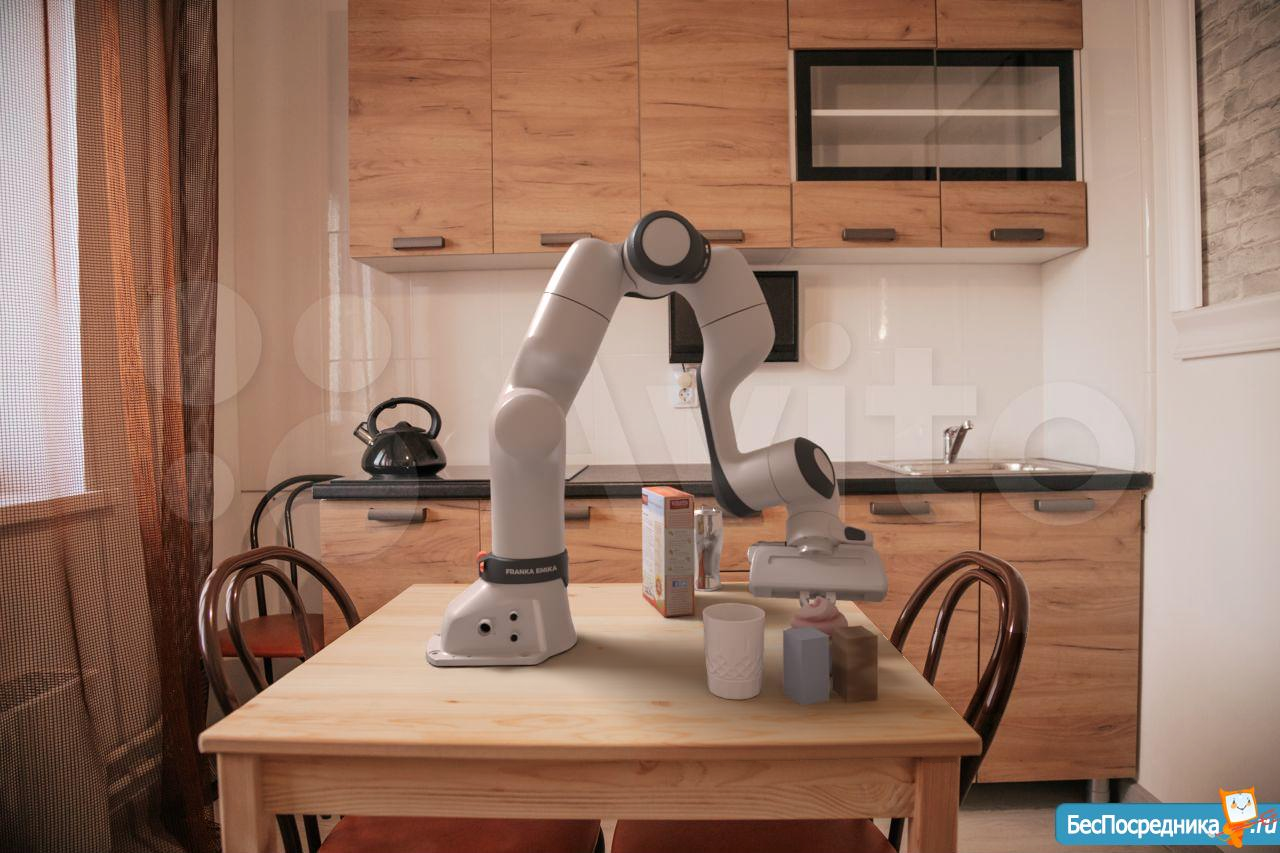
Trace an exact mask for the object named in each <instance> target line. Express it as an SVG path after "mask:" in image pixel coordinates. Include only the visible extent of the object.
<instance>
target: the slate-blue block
mask: <svg viewBox="0 0 1280 853" xmlns="http://www.w3.org/2000/svg"><path fill="white" fill-rule="evenodd" d="M786 629H787V630H786ZM786 629H782V648H783V649H782V651H783V652H782V658H783V659H782V664H783V665H782V667H783V670H782V671H783V672H782V673H783V674H782V679H783V685H782V686H783V694H785V696H788V697H789V698H790V699H792V700H793V701H794V702H796V703H797V704H799V705H800V706H806V705H811V704H816V703H822V702H826V701H830V675H829V635H827V634H825V633H823V632H821V631H819V630H817V629H815V628H813V627H811V626H807V627H800V628H794V629H789V628H786Z"/></svg>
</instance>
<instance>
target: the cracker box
mask: <svg viewBox="0 0 1280 853" xmlns="http://www.w3.org/2000/svg"><path fill="white" fill-rule="evenodd" d="M641 504H642V505H641V520H642V522H641V523H642V524H641V526H642V529H641V530H642V531H641V532H642V533H641V535H642V540H641V541H642V542H641V543H642V547H641V548H642V550H641V551H642V597H644V599H646V600H647V602H648V603H650V604H651V605H652V606H653V607H654V609H656V610H657V612H659V613H660V614H661V615H662V617H665V618H667V617H679V616H691V615H695V613H696V612H695V598H696V597H695V591H696V590H695V583H694V568H695V567H694V510H695V495H694V494H691V493H688V492H686V491H683V490H679V489H677V488H674V487H672V486H646V487H645V486H644V487H642V488H641Z"/></svg>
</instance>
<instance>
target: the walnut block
mask: <svg viewBox="0 0 1280 853" xmlns="http://www.w3.org/2000/svg"><path fill="white" fill-rule="evenodd" d="M848 626H849V627H837V628H832V675H831V681H832V682H831V686H832V687H831V689H832V691H833V692H834V693H835V694H836V695H837V696H838V697H839V698H840V699H842V700H843V701H844V702H845V703H846V704H854V703H863V702H864V703H865V702H873V701H874V702H875V701H878V697H879V696H878V691H879V689H878V687H879V686H878V684H879V683H878V677H879V676H878V674H879V673H878V668H879V667H878V665H879V664H878V656H879V654H878V653H879V652H878V647H879V646H878V643H879V642H878V640H879V638H878V637H879V636H878V634H875V633H873V632H872V631H870V630H869V629H867V628H866V627H864V626H863V625H852V626H850V625H848Z"/></svg>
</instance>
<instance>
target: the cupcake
mask: <svg viewBox="0 0 1280 853" xmlns="http://www.w3.org/2000/svg"><path fill="white" fill-rule="evenodd" d="M848 622H849V621H848V619H847V618H846V616H845V615H844V614H843V613H841V611H839V609H838V607H837V606H836V604H835V605H834V604H833V603H832V602H831V601H829V600H827V599H825V598H822V597H821V596H817V597H816V599H815V600H814V601H813V602H812V603H809V604H806V605H803V606H802V607H801V606H800V608H799V610H798V612H797V613H796V614H795V615H794V616H793V617H792V619H791V621H790V626H791V627H790V628H786V629H785V630H787V629H794V628H800V627H807V626H811V627H813V628H815V629H817V630H819V631H821V632H823V633H825V634H827V635H829V676H832V628H837V627H849V626H850V625H849V623H848Z"/></svg>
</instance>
